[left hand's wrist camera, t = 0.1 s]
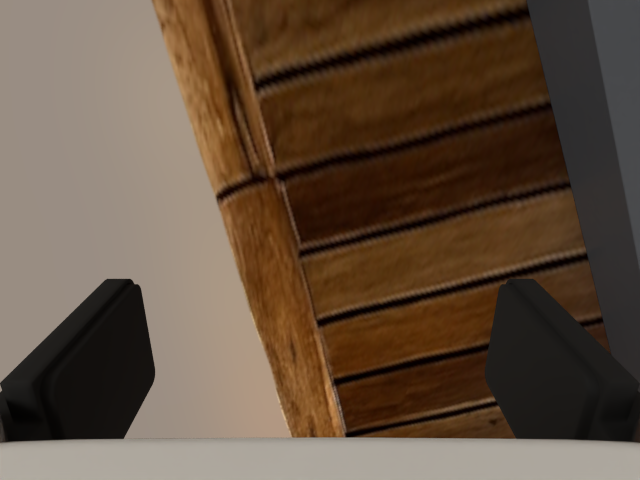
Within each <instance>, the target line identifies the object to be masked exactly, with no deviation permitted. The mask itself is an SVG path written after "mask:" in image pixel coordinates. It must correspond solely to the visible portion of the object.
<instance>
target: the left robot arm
mask: <svg viewBox="0 0 640 480" xmlns="http://www.w3.org/2000/svg"><path fill="white" fill-rule="evenodd" d="M154 378H155V366H154V361H153V355H152V349H151V344H150V338H149V332H148V327H147V321H146V315H145V309H144V304H143V298H142V292H141V288H140V286H139V285H138V284H134V283H133V281H132V280H131V279H107V280H105V281H104V282H103V283H102V284H101V285H100V286H99V287H98V288H97V289H96V290H95V291H94V292H93V293H92V294H91V295H90V296H88V297H87V298H86V299H85V300H84V301H83V302H82V303H81V304H80V305H79V306H78V307H77V308H76V309H75V310H74V311H73V312H72V313H71V314H70V315H69V316H68V317H67V318H66V319H65V320H64V321H63V322H62V323H61V324H60V325H59V326H58V327H57V328H56V329H55V330H54V331H53V332H52V333H51V334H50V335H49V336H48V337H47V338H46V339H45V340H44V341H43V342H41V343H40V344H39V345H38V346H37V347H36V348H35V349H34V350H33V351H32V352H31V353H30V354H29V355H28V356H27V357H26V358H25V359H24V360H23V361H22V362H21V363H20V364H19V365H18V366H17V367H16V368H15V369H14V370H13V371H12V372H11V373H10V374H9V375H8V376H7V377H6V378H5V379H4V380H3V381H2V382H1V383H0V385H1V388H2V391H1V392H0V480H640V392H639V391H638V388H639V385H640V383H639V382H638V381H637V380H636V379H635V378H634V377H633V376H632V375H631V374H630V373H629V372H628V371H627V370H626V369H625V368H624V367H623V366H622V365H621V364H620V363H619V362H618V361H617V360H616V359H615V358H614V357H613V356H612V355H611V354H610V353H609V352H608V351H607V350H606V349H605V348H604V347H603V346H602V345H601V344H600V343H599V342H597V341H596V340H595V339H594V338H593V337H592V336H591V335H590V334H589V333H588V332H587V331H586V330H585V329H584V328H583V327H582V326H581V325H580V324H579V323H578V322H577V321H576V320H575V319H574V318H573V317H572V316H571V315H570V314H569V313H568V312H567V311H566V310H565V309H564V308H563V307H562V306H561V305H560V304H559V303H558V302H557V301H556V300H555V299H554V298H553V297H552V296H550V295H549V294H548V293H547V292H546V291H545V290H544V289H543V288H542V287H541V286H540V285H539V284H538V283H537V282H536V281H535V280H534V279H509V280H508V281H507V283H506V284H502V285H501V286H500V288H499V292H498V298H497V304H496V309H495V315H494V321H493V326H492V332H491V338H490V344H489V349H488V355H487V361H486V366H485V378H486V382H487V384H488V386H489V388H490V390H491V392H492V394H493V396H494V397H495V399H496V401H497V403H498V405H499V407H500V409H501V411H502V413H503V414H504V416H505V418H506V420H507V422H508V424H509V426H510V428H511V429H512V431H513V433H514V435H515V437H516V439H464V438H177V439H124V437H125V435H126V433H127V431H128V429H129V428H130V426H131V424H132V422H133V420H134V418H135V416H136V414H137V412H138V411H139V409H140V407H141V405H142V403H143V401H144V399H145V397H146V396H147V394H148V392H149V390H150V388H151V386H152V384H153V382H154Z"/></svg>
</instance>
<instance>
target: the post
mask: <svg viewBox="0 0 640 480" xmlns="http://www.w3.org/2000/svg"><path fill="white" fill-rule="evenodd" d="M527 4H528V9H529V13H530V17H531V21H532V25H533V29H534V34H535V38H536V42H537V46H538V50H539V54H540V59H541V63H542V67H543V71H544V75H545V80H546V84H547V88H548V92H549V96H550V100H551V105H552V109H553V113H554V117H555V121H556V125H557V130H558V134H559V138H560V142H561V146H562V150H563V155H564V159H565V163H566V167H567V171H568V176H569V180H570V184H571V188H572V192H573V196H574V201H575V205H576V209H577V213H578V217H579V221H580V226H581V230H582V234H583V238H584V242H585V247H586V251H587V255H588V259H589V263H590V267H591V272H592V276H593V280H594V284H595V288H596V292H597V297H598V301H599V305H600V309H601V313H602V318H603V322H604V326H605V330H606V334H607V338H608V343H609V347H610V351H611V355H612V356H613V357H614V358H615V359H616V360H617V361H618V362H619V363H620V364H621V365H622V366H623V367H624V368H625V369H626V370H627V371H628V372H629V373H630V374H631V375H632V376H633V377H634V378H635V379H636V380H637V381H638V382H639V383H640V0H527ZM638 391H639V392H640V385H639V388H638Z"/></svg>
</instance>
